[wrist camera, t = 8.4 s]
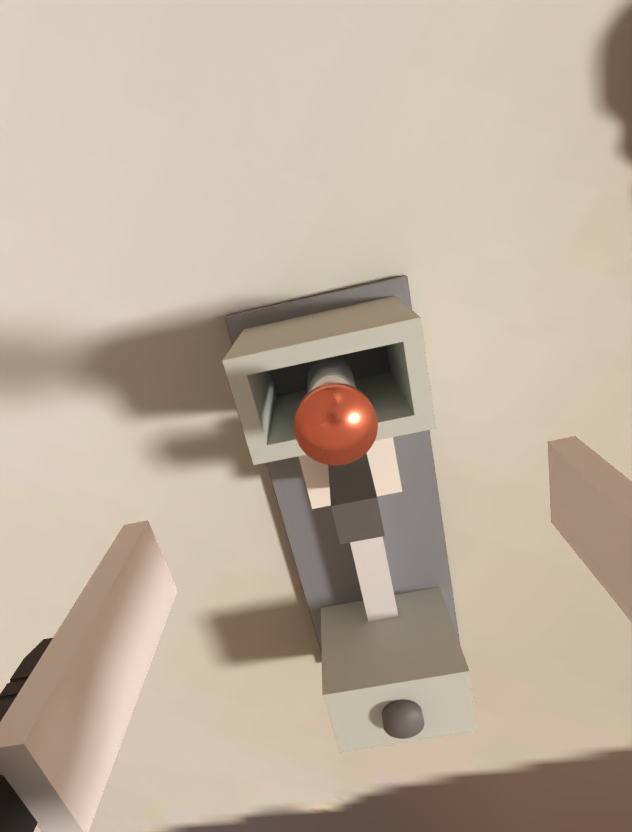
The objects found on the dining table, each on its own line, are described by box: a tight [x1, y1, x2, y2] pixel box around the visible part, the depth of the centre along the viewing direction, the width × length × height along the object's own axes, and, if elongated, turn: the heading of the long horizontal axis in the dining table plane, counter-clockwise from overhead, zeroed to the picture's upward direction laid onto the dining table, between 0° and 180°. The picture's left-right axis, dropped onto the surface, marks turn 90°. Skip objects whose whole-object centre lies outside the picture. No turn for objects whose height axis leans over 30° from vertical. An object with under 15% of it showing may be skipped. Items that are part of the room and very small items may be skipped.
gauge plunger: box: [294, 355, 378, 465], centre depth 25 cm, size 4×4×9 cm
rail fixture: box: [222, 275, 477, 752], centre depth 32 cm, size 32×12×10 cm, turn 12°
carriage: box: [299, 437, 402, 544], centre depth 29 cm, size 5×6×10 cm
